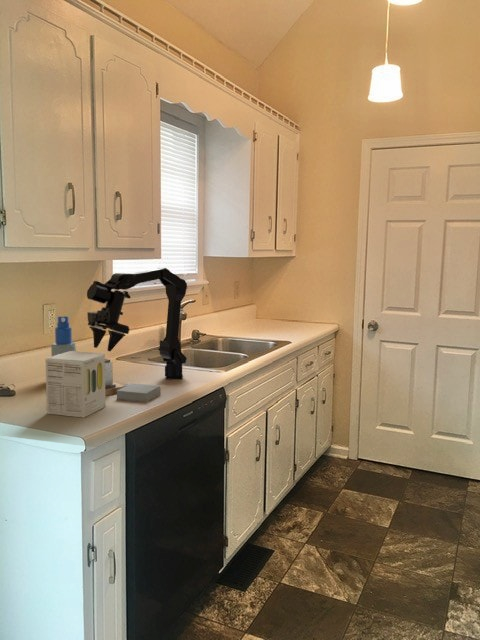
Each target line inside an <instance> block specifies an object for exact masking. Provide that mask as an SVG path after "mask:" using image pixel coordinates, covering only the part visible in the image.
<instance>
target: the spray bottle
mask: <svg viewBox="0 0 480 640" xmlns="http://www.w3.org/2000/svg"><path fill="white" fill-rule="evenodd" d="M54 333H55V334H54V336H55V341H54V342H53V343H51V346H50V347H51V350H50V351H51V357H52V356H55V355H58V354H62V353H65V352H69V351H77V350H76V349H77V345H76V342H74V341H72V339H73V337H72V334H73V333H72V327H71V326H70V322H69V316H68V315H65V316H64V315H63V316H60V315H58V316H57V323H56V327H54Z"/></svg>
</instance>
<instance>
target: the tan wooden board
mask: <svg viewBox="0 0 480 640" xmlns="http://www.w3.org/2000/svg"><path fill="white" fill-rule="evenodd" d="M128 385H129V384H127V383H125V382H121V381H117V380H116V381H113V384H111V385H106V386H105V397H106V396H111V395H117V390H119V389H121V388H123V387H125V386H128Z"/></svg>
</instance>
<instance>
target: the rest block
mask: <svg viewBox="0 0 480 640" xmlns="http://www.w3.org/2000/svg"><path fill="white" fill-rule="evenodd" d="M160 395H161V385H157V384H143V383H133V382H132V383H130V384H128V386H125V387H123V388H121V389H119V390H117V393H116V400H121V401H132V402H142V403H147V402H149V401H151V400H153V399H155V398H156V397H158V396H160Z"/></svg>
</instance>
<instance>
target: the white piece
mask: <svg viewBox="0 0 480 640" xmlns="http://www.w3.org/2000/svg"><path fill="white" fill-rule="evenodd" d="M113 367H114V366H113V361H111V359H108V358H105V386H106V385H111V384H113V382H114V379H113V377H114V376H113V374H114V373H113V371H114V369H113Z"/></svg>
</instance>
